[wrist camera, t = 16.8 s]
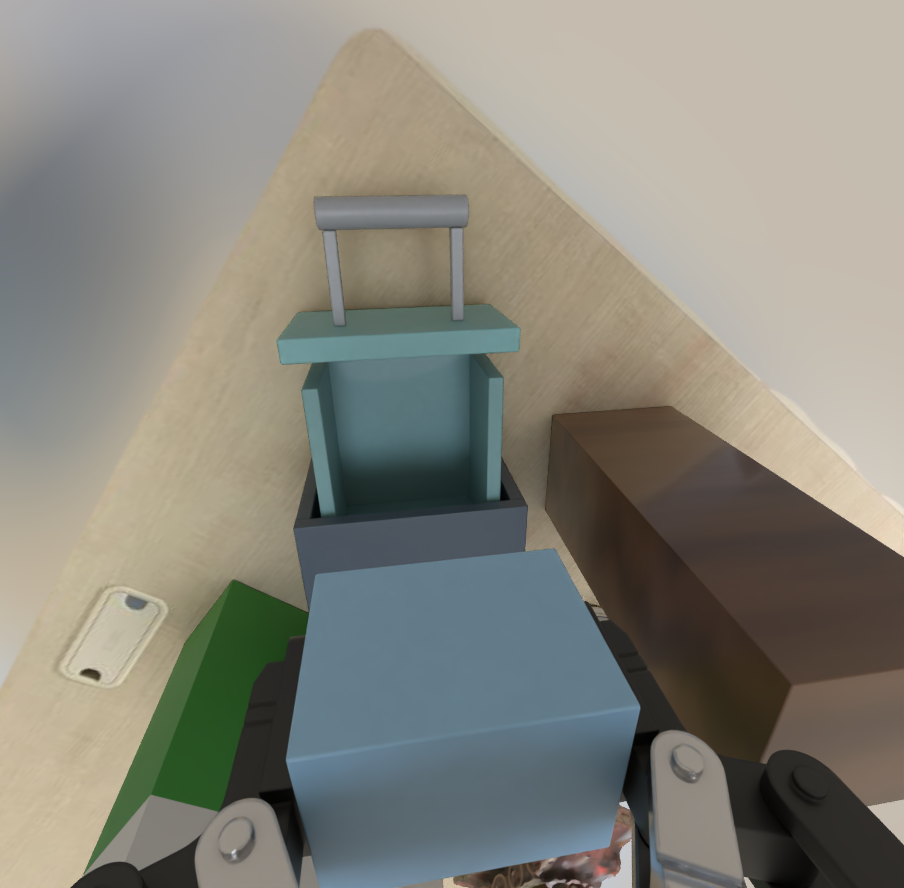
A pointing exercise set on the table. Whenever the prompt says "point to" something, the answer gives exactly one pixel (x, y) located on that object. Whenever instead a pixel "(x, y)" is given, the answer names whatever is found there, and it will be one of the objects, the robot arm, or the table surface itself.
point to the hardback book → (200, 732)
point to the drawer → (400, 378)
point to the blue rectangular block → (455, 721)
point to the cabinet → (406, 533)
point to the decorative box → (560, 866)
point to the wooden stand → (737, 593)
